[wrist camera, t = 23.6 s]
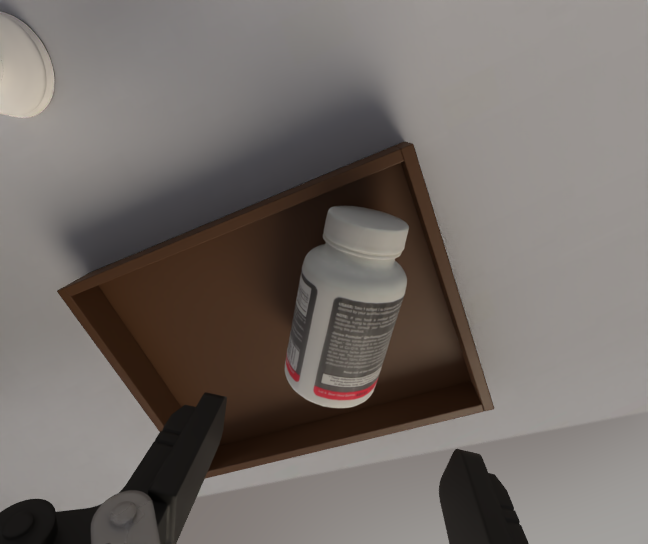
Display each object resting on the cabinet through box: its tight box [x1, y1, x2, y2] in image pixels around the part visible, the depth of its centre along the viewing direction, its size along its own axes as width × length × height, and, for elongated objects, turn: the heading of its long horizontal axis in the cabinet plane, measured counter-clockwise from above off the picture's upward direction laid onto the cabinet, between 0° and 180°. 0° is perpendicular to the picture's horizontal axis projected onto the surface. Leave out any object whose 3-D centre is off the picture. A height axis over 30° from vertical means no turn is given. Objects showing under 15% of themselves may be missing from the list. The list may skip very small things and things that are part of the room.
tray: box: [57, 142, 494, 478], centre depth 22 cm, size 21×16×3 cm
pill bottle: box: [285, 206, 409, 408], centre depth 19 cm, size 5×5×10 cm
